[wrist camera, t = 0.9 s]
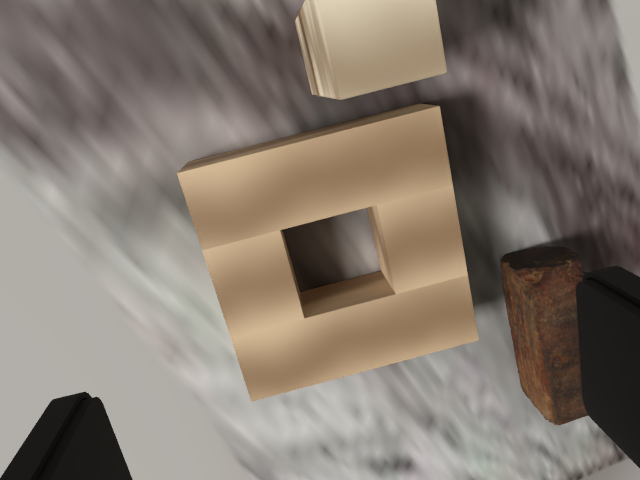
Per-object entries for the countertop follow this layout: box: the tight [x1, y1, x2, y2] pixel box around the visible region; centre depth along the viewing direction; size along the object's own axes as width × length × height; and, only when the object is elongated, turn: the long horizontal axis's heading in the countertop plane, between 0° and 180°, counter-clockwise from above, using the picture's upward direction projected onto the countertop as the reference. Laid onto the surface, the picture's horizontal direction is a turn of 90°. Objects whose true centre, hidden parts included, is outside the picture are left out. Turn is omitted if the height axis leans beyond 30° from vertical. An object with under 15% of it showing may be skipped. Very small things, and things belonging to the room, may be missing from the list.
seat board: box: [177, 103, 479, 401], centre depth 31 cm, size 14×14×4 cm
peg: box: [295, 0, 447, 100], centre depth 24 cm, size 4×4×12 cm
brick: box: [501, 246, 588, 425], centre depth 34 cm, size 11×4×5 cm, turn 16°
